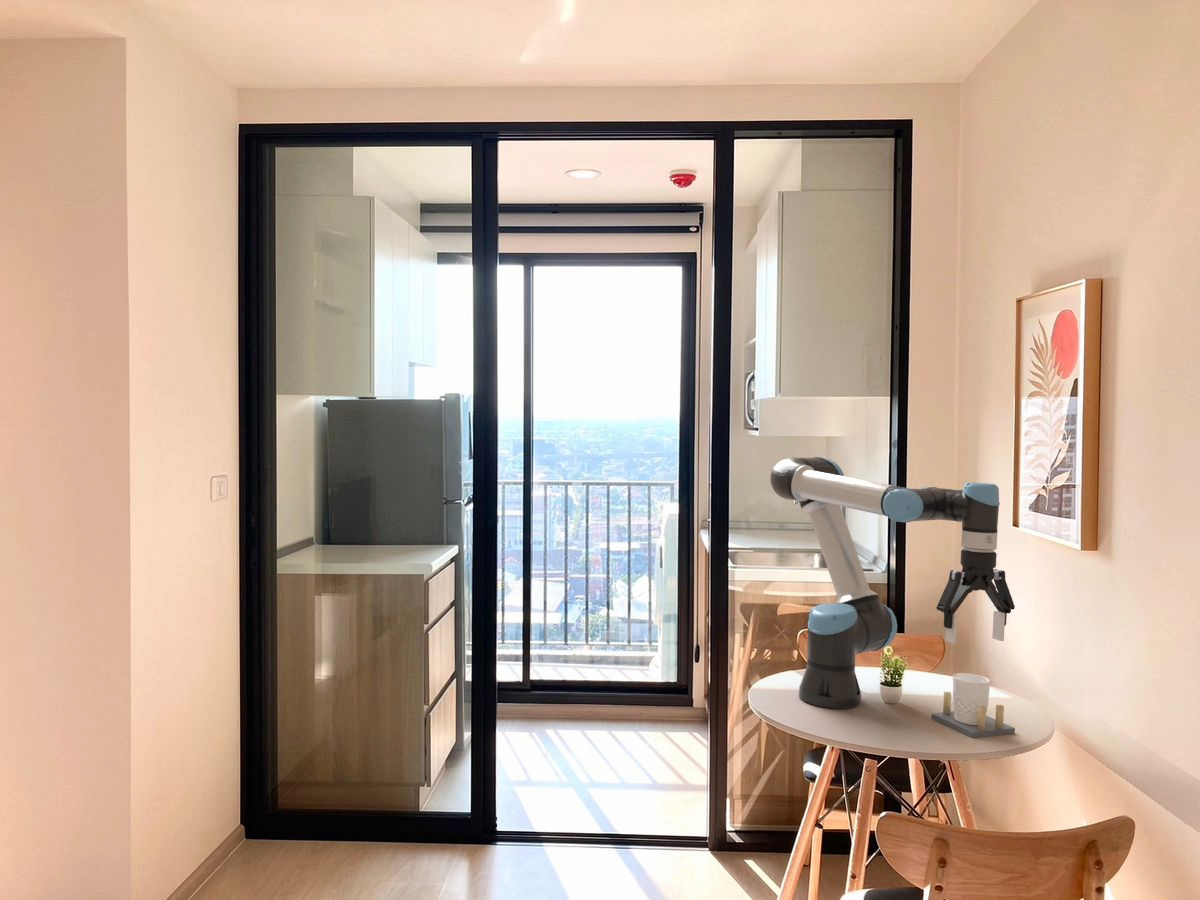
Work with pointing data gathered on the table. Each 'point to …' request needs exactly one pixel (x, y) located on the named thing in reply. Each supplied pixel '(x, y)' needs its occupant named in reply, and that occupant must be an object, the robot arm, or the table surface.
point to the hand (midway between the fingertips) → (974, 641)
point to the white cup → (969, 696)
